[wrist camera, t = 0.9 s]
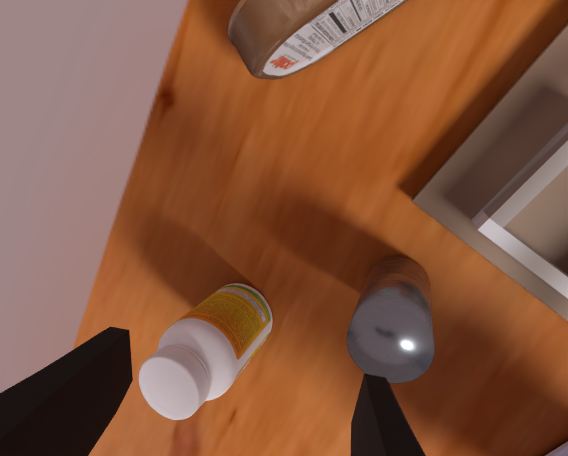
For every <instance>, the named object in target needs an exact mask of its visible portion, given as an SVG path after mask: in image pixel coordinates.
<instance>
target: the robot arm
mask: <svg viewBox="0 0 568 456" xmlns="http://www.w3.org/2000/svg"><path fill="white" fill-rule="evenodd" d="M132 380H133V379H132V364H131V350H130V335H129V330H126V329H120V328H115V327H109V328H107V329H106V330H104V331H102V332H101V333H99V334H98V335H96V336H94V337H93V338H91V339H90V340H88V341H87V342H85V343H83V344H82V345H80V346H79V347H77V348H76V349H74V350H72V351H71V352H69V353H68V354H66V355H64V356H63V357H61V358H60V359H58V360H56V361H55V362H53V363H51V364H50V365H48V366H47V367H45V368H44V369H42V370H40V371H38V372H37V373H35V374H33V375H32V376H30V377H28V378H26V379H24V380H23V381H21V382H19V383H17V384H16V385H14V386H12V387H10V388H9V389H7V390H5V391H4V392H2V393H0V456H88V455H89V453H90V452H91V450H92V449H93V447H94V446H95V444H96V443H97V441H98V440H99V438H100V437H101V435H102V434H103V432H104V431H105V429H106V428H107V426H108V424H109V423H110V421H111V420H112V418H113V417H114V415H115V414H116V412H117V410H118V408H119V406H120V404H121V402H122V400H123V399H124V397H125V395H126V392H127V390H128V388H129V386H130V384H131V382H132ZM351 456H426V455H425V453H424V452H423V450H422V448H421V446H420V444H419V442H418V441H417V439H416V437H415V435H414V433H413V431H412V430H411V428H410V426H409V424H408V422H407V420H406V418H405V416H404V414H403V412H402V410H401V408H400V406H399V404H398V401H397V399H396V397H395V395H394V393H393V391H392V388H391V386H390V384H389V382H388V380H387V379H386V377H380V376H375V375H369V374H364V377H363V381H362V385H361V388H360V392H359V396H358V400H357V403H356V407H355V411H354V415H353V418H352V422H351ZM545 456H568V441H567V442H566V443H564V444H563V445H561V446H560V447H558V448H556V449H555V450H553V451H552V452H550V453H548V454H547V455H545Z"/></svg>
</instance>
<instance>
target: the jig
mask: <svg viewBox="0 0 568 456" xmlns="http://www.w3.org/2000/svg"><path fill="white" fill-rule="evenodd" d="M412 202H413V203H415V204H416V205H417V206H418V207H420V208H421V209H422V210H424V211H425V212H426V213H428V214H429V215H430V216H431V217H433V218H434V219H435V220H437V221H438V222H439V223H441V224H442V225H443V226H444V227H446V228H447V229H448V230H450V231H451V232H452V233H453V234H455V235H456V236H457V237H459V238H460V239H461V240H463V241H464V242H465V243H466V244H468V245H469V246H470V247H472V248H473V249H474V250H476V251H477V252H478V253H479V254H481V255H482V256H483V257H485V258H486V259H487V260H489V261H490V262H491V263H492V264H494V265H495V266H496V267H498V268H499V269H500V270H502V271H503V272H504V273H505V274H507V275H508V276H509V277H511V278H512V279H513V280H515V281H516V282H517V283H518V284H520V285H521V286H522V287H524V288H525V289H526V290H528V291H529V292H530V293H531V294H533V295H534V296H535V297H537V298H538V299H539V300H541V301H542V302H543V303H544V304H546V305H547V306H548V307H550V308H551V309H552V310H554V311H555V312H556V313H557V314H559V315H560V316H561V317H563V318H564V319H565V320H566V321H568V22H567V24H566V25H565V26H564V27H563V28H562V29H561V30H560V32H559V33H558V34H557V35H556V36H555V37H554V38H553V40H552V41H551V42H550V43H549V44H548V45H547V46H546V47H545V49H544V50H543V51H542V52H541V53H540V54H539V55H538V57H537V58H536V59H535V60H534V61H533V62H532V63H531V64H530V66H529V67H528V68H527V69H526V70H525V71H524V72H523V74H522V75H521V76H520V77H519V78H518V79H517V80H516V82H515V83H514V84H513V85H512V86H511V87H510V88H509V89H508V91H507V92H506V93H505V94H504V95H503V96H502V97H501V99H500V100H499V101H498V102H497V103H496V104H495V105H494V107H493V108H492V109H491V110H490V111H489V112H488V113H487V114H486V116H485V117H484V118H483V119H482V120H481V121H480V122H479V124H478V125H477V126H476V127H475V128H474V129H473V130H472V131H471V133H470V134H469V135H468V136H467V137H466V138H465V139H464V141H463V142H462V143H461V144H460V145H459V146H458V147H457V149H456V150H455V151H454V152H453V153H452V154H451V155H450V156H449V158H448V159H447V160H446V161H445V162H444V163H443V164H442V166H441V167H440V168H439V169H438V170H437V171H436V172H435V173H434V175H433V176H432V177H431V178H430V179H429V180H428V181H427V183H426V184H425V185H424V186H423V187H422V188H421V189H420V191H419V192H418V193H417V194H416V195H415V196H414V197H413V198H412Z"/></svg>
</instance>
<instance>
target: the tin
mask: <svg viewBox="0 0 568 456" xmlns="http://www.w3.org/2000/svg"><path fill="white" fill-rule="evenodd" d="M407 1H408V0H240V1H239V2H238V4H237V6H236V7H235V9H234V11H233V13H232V15H231V17H230V19H229V23H228V28H227V34H228V38H229V40H230V42H231V43H232V44H233V45H234V46H235V47H236V49H237V51H238V53H239V54H240V56H241V58H242V60H243V62H244V63H245V65H246V67H247V69H248V70H249V72H250V73H251V75H253V76H254V77H256V78H259V79H272V80H276V79H281V78H284V77H287V76H290V75H292V74H295V73H297V72H299V71H301V70H303V69H305V68H307V67H309V66H311V65H312V64H314V63H316V62H317V61H319V60H321V59H322V58H324V57H326V56H327V55H329V54H330V53H332V52H333V51H335V50H336V49H337V48H339V47H340V46H342V45H343V44H345V43H346V42H348V41H349V40H351V39H352V38H354V37H355V36H357V35H358V34H360V33H361V32H363V31H364V30H366V29H367V28H369V27H370V26H372V25H373V24H375V23H376V22H378V21H379V20H381V19H382V18H384V17H385V16H386V15H388V14H389V13H391V12H392V11H394V10H395V9H397V8H398V7H399V6H401V5H402V4H404V3H405V2H407Z"/></svg>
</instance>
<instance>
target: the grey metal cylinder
mask: <svg viewBox="0 0 568 456" xmlns="http://www.w3.org/2000/svg"><path fill="white" fill-rule="evenodd" d="M347 346H348V350H349V353H350V355H351V357H352V359H353V361H354V362H355V363H356V365H357V366H358V367H359V368H360V369H361V370H362V371H364V372H365V373H366V374H369V375H375V376H380V377H386V379H387V380H388V382H389V383H404V382H409V381H412V380H414V379H416V378H418V377H420V376H421V375H422V374H424V373H425V372H426V371H427V369H428V368H429V367H430V365H431V363H432V361H433V357H434V334H433V321H432V308H431V294H430V282H429V278H428V275H427V273H426V271H425V270H424V268H423V267H422V266H421V265H420V264H419V263H417V262H416V261H414V260H413V259H410V258H408V257H404V256H389V257H385V258H383V259H381V260H379V261H378V262H377V263H376V264H374V266H373V267H372V268H371V270H370V272H369V274H368V277H367V280H366V282H365V285H364V288H363V291H362V293H361V296H360V299H359V301H358V304H357V307H356V310H355V312H354V315H353V318H352V320H351V323H350V326H349V329H348V332H347Z"/></svg>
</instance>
